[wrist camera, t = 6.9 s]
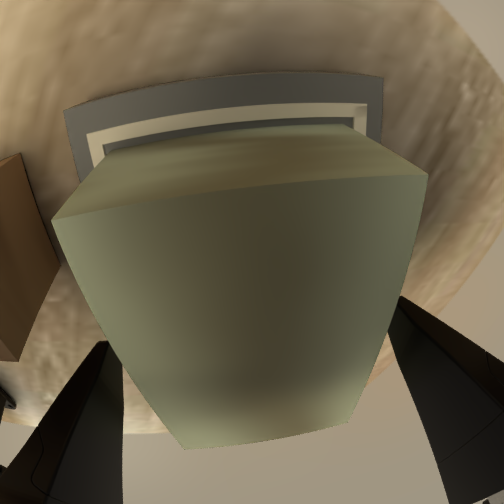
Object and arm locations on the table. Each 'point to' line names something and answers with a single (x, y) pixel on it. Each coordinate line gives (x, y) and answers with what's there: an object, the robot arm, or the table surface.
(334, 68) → the table surface
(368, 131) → the plinth
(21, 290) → the walnut cube
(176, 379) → the sage block
